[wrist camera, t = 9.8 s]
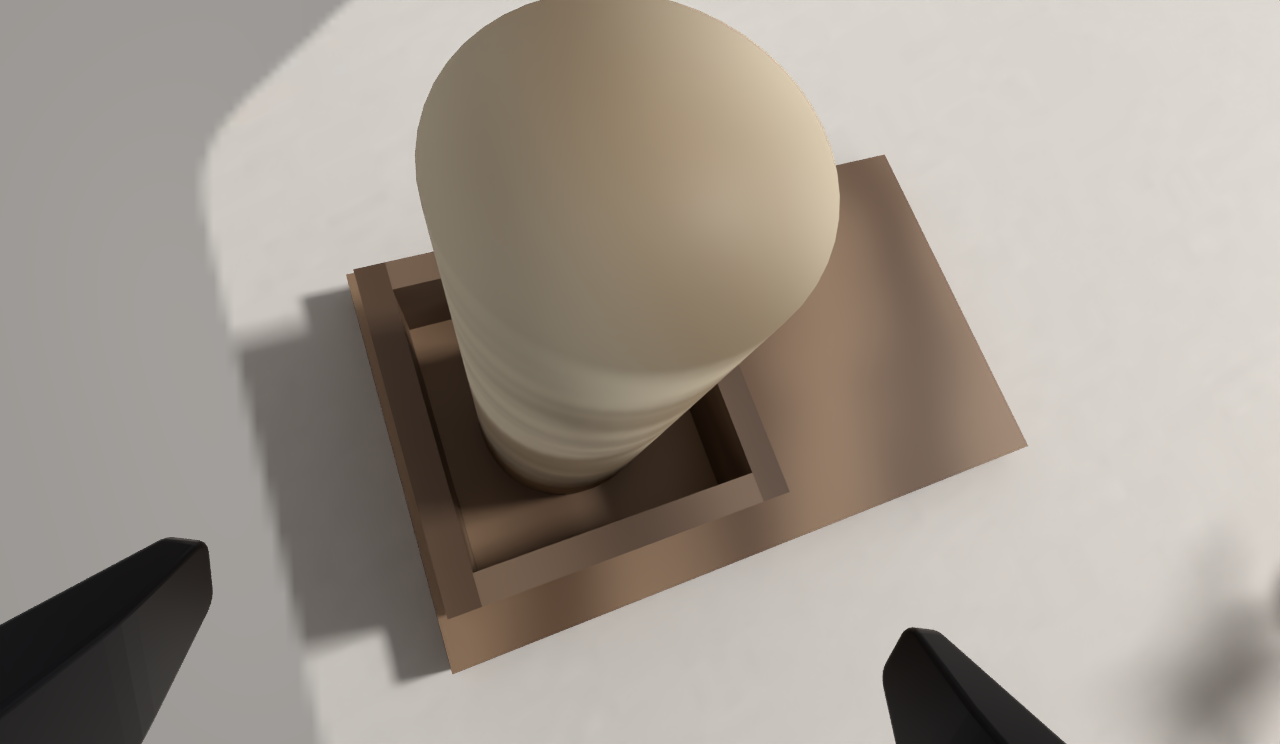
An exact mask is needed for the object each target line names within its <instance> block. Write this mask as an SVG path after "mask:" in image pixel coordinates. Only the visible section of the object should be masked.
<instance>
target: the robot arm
mask: <svg viewBox="0 0 1280 744" xmlns="http://www.w3.org/2000/svg"><path fill="white" fill-rule="evenodd" d="M212 594H213V590H212V579H211V569H210V559H209V551H208V547H207V546H206V544H205V543H204V542H202V541H199V540H191V539H183V538H174V537H169V538H165V539H162V540H159V541H157V542H155V543H153V544H152V545H150V546H148V547H146V548H144V549H143V550H140V551H138V552H137V553H135V554H133V555H131V556H129V557H127V558H125V559H124V560H121V561H120V562H118V563H116V564H114V565H112V566H110V567H108V568H107V569H105V570H103V571H101V572H99V573H97V574H95V575H93V576H91V577H89V578H88V579H86V580H84V581H82V582H80V583H78V584H76V585H75V586H73V587H71V588H69V589H67V590H65V591H63V592H61V593H59V594H57V595H56V596H54V597H52V598H50V599H48V600H46V601H44V602H43V603H41V604H39V605H37V606H35V607H33V608H31V609H29V610H28V611H26V612H24V613H22V614H20V615H18V616H16V617H14V618H12V619H10V620H8V621H7V622H5V623H3V624H1V625H0V744H141V743H142V742H143V740H144V738H145V736H146V734H147V732H148V731H149V729H150V727H151V725H152V723H153V721H154V719H155V717H156V715H157V713H158V711H159V709H160V707H161V705H162V703H163V701H164V699H165V697H166V695H167V693H168V691H169V689H170V687H171V685H172V683H173V681H174V679H175V676H176V675H177V673H178V671H179V669H180V667H181V665H182V663H183V661H184V659H185V657H186V655H187V653H188V650H189V648H190V647H191V644H192V642H193V641H194V638H195V636H196V634H197V632H198V630H199V628H200V626H201V624H202V622H203V620H204V618H205V616H206V614H207V612H208V610H209V607H210V604H211V600H212ZM883 687H884V692H885V697H886V701H887V706H888V710H889V715H890V719H891V724H892V728H893V733H894V738H895V742H896V744H1066V743H1065V742H1064V741H1062V740H1061V739H1060V738H1059V737H1058V736H1057V735H1056V734H1054V733H1053V732H1052V731H1051V730H1050V729H1049V728H1048V727H1047V726H1045V725H1044V724H1043V723H1042V722H1041V721H1040V720H1039V719H1038V718H1036V717H1035V716H1034V715H1033V714H1032V713H1031V712H1030V711H1028V710H1027V709H1026V708H1025V707H1024V706H1023V705H1022V704H1021V703H1019V702H1018V701H1017V700H1016V699H1015V698H1014V697H1013V696H1011V695H1010V694H1009V693H1008V692H1007V691H1006V690H1005V689H1004V688H1002V687H1001V686H1000V685H999V684H998V683H997V682H996V681H995V680H993V679H992V678H991V677H990V676H989V675H988V674H987V673H985V672H984V671H983V670H982V669H981V668H980V667H979V666H978V665H976V664H975V663H974V662H973V661H972V660H971V659H970V658H968V657H967V656H966V655H965V654H964V653H963V652H962V651H961V650H959V649H958V648H957V647H956V646H955V645H954V644H953V643H952V642H950V641H949V640H948V639H947V638H946V637H945V636H944V635H942V634H941V633H940V632H938V631H935V630H930V629H922V628H914V627H912V628H908V629H906V630H905V631H904V632H903V633H902V635H901V637H900V638H899V640H898V642H897V644H896V646H895V647H894V649H893V651H892V653H891V655H890V656H889V658H888V660H887V662H886V664H885V666H884V670H883Z"/></svg>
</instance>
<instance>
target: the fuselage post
mask: <svg viewBox="0 0 1280 744" xmlns="http://www.w3.org/2000/svg"><path fill="white" fill-rule="evenodd" d="M415 163H416V180H417V186H418V190H419V195H420V200H421V204H422V209H423V213H424V216H425V220H426V224H427V228H428V231H429V235H430V239H431V243H432V246H433V250H434V254H435V258H436V261H437V265H438V269H439V273H440V276H441V280H442V284H443V288H444V292H445V295H446V299H447V303H448V307H449V310H450V314H451V318H452V322H453V325H454V329H455V333H456V337H457V340H458V344H459V348H460V352H461V356H462V359H463V363H464V367H465V371H466V374H467V378H468V382H469V386H470V389H471V393H472V397H473V401H474V404H475V408H476V412H477V416H478V419H479V423H480V427H481V431H482V435H483V437H484V440H485V443H486V446H487V447H488V449H489V451H490V453H491V455H492V456H493V458H494V459H495V461H496V462H497V463H498V465H499V466H500V467H501V468H502V469H503V470H504V471H505V472H506V473H507V474H509V475H510V476H511V477H512V478H514V479H515V480H517V481H519V482H520V483H522V484H524V485H526V486H528V487H530V488H533V489H535V490H539V491H543V492H547V493H554V494H570V493H578V492H582V491H586V490H590V489H592V488H594V487H597V486H599V485H601V484H603V483H604V482H606V481H608V480H609V479H611V478H612V477H613V476H615V475H616V474H617V473H618V472H619V471H621V470H622V469H623V468H624V467H625V466H626V465H627V464H628V463H629V462H631V461H632V460H633V459H634V458H635V457H636V456H637V455H638V454H639V453H641V452H642V451H643V450H644V449H645V448H646V447H647V446H648V445H649V444H651V443H652V442H653V441H654V440H655V439H656V438H657V437H658V436H659V435H661V434H662V433H663V432H664V431H665V430H666V429H667V428H668V427H669V426H671V425H672V424H673V423H674V422H675V421H676V420H677V419H678V418H679V417H681V416H682V415H683V414H684V413H685V412H686V411H687V410H688V409H689V408H691V407H692V406H693V405H694V404H695V403H696V402H697V401H698V400H699V399H701V398H702V397H703V396H704V395H705V394H706V393H707V392H708V391H709V390H711V389H712V388H713V387H714V386H715V385H716V384H717V383H718V382H719V381H721V380H722V379H723V378H724V377H725V376H726V375H727V374H728V373H729V372H731V371H732V370H733V369H734V368H735V367H736V366H737V365H738V364H739V363H741V362H742V361H743V360H744V359H745V358H746V357H747V356H748V355H749V354H751V353H752V352H753V351H754V350H755V349H756V348H757V347H758V346H759V345H761V344H762V343H763V342H764V341H765V340H766V339H767V338H768V337H769V336H771V335H772V334H773V333H774V332H775V331H776V330H777V329H778V328H779V327H781V326H782V325H783V324H784V323H785V322H786V321H787V320H788V319H789V318H790V317H791V316H792V315H793V314H794V313H795V312H796V311H797V310H798V309H799V308H800V307H801V306H802V305H803V303H804V302H805V301H806V299H807V298H808V296H809V295H810V294H811V292H812V291H813V290H814V288H815V287H816V285H817V284H818V282H819V280H820V278H821V276H822V274H823V272H824V270H825V268H826V266H827V264H828V261H829V258H830V255H831V252H832V249H833V246H834V243H835V239H836V233H837V228H838V222H839V205H840V193H839V184H838V174H837V169H836V165H835V161H834V157H833V153H832V149H831V146H830V144H829V141H828V138H827V136H826V133H825V131H824V128H823V126H822V124H821V122H820V120H819V118H818V116H817V115H816V113H815V111H814V109H813V107H812V105H811V104H810V102H809V101H808V99H807V98H806V97H805V95H804V94H803V92H802V91H801V89H800V88H799V86H798V85H797V84H796V83H795V82H794V80H793V79H792V78H791V77H790V76H789V75H788V74H787V72H786V71H785V70H784V69H783V68H782V67H781V66H780V65H779V64H778V63H777V62H776V61H775V60H774V59H773V58H772V57H771V56H770V55H768V54H767V53H766V52H765V51H764V50H763V49H762V48H760V47H759V46H758V45H756V44H755V43H754V42H752V41H751V40H750V39H748V38H747V37H746V36H745V35H743V34H741V33H740V32H738V31H737V30H735V29H733V28H732V27H730V26H728V25H727V24H725V23H723V22H722V21H720V20H718V19H715V18H713V17H711V16H709V15H707V14H705V13H703V12H701V11H699V10H696V9H693V8H690V7H688V6H685V5H682V4H679V3H676V2H673V1H669V0H540V1H536V2H533V3H530V4H527V5H524V6H522V7H520V8H518V9H515V10H513V11H511V12H509V13H507V14H504V15H503V16H501V17H499V18H498V19H496V20H495V21H493V22H491V23H490V24H488V25H486V26H485V27H483V28H482V29H481V30H480V31H478V32H477V33H476V34H475V35H474V36H472V37H471V38H470V39H469V40H468V41H466V42H465V43H464V44H463V45H462V46H461V47H460V48H459V50H458V51H457V52H456V53H455V54H454V55H453V56H452V57H451V59H450V60H449V61H448V62H447V63H446V65H445V67H444V68H443V70H442V71H441V73H440V74H439V76H438V77H437V79H436V80H435V82H434V84H433V86H432V88H431V91H430V93H429V95H428V97H427V100H426V102H425V104H424V107H423V111H422V115H421V119H420V122H419V126H418V131H417V141H416V150H415Z"/></svg>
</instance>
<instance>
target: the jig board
mask: <svg viewBox="0 0 1280 744" xmlns="http://www.w3.org/2000/svg"><path fill="white" fill-rule="evenodd" d="M836 169H837V174H838V184H839V193H840V205H839V222H838V228H837V233H836V239H835V243H834V246H833V249H832V252H831V255H830V258H829V261H828V264H827V266H826V268H825V270H824V272H823V274H822V276H821V278H820V280H819V282H818V284H817V285H816V287H815V288H814V290H813V291H812V292H811V294H810V295H809V296H808V298H807V299H806V301H805V302H804V303H803V305H802V306H801V307H800V308H799V309H798V310H797V311H796V312H795V313H794V314H793V315H792V316H791V317H790V318H789V319H788V320H787V321H786V322H785V323H784V324H783V325H782V326H781V327H779V328H778V329H777V330H776V331H775V332H774V333H773V334H772V335H771V336H769V337H768V338H767V339H766V340H765V341H764V342H763V343H762V344H761V345H759V346H758V347H757V348H756V349H755V350H754V351H753V352H752V353H751V354H749V355H748V356H747V357H746V358H745V359H744V360H743V361H742V362H741V363H739V364H738V365H737V366H736V367H735V368H734V369H733V370H732V371H731V372H729V373H728V374H727V375H726V376H725V377H724V378H723V379H722V380H721V381H719V382H718V383H717V384H716V385H715V386H714V387H713V388H712V389H711V390H709V391H708V392H707V393H706V394H705V395H704V396H703V397H702V398H701V399H699V400H698V401H697V402H696V403H695V404H694V405H693V406H692V407H691V408H689V409H688V410H687V411H686V412H685V413H684V414H683V415H682V416H681V417H679V418H678V419H677V420H676V421H675V422H674V423H673V424H672V425H671V426H669V427H668V428H667V429H666V430H665V431H664V432H663V433H662V434H661V435H659V436H658V437H657V438H656V439H655V440H654V441H653V442H652V443H651V444H649V445H648V446H647V447H646V448H645V449H644V450H643V451H642V452H641V453H639V454H638V455H637V456H636V457H635V458H634V459H633V460H632V461H631V462H629V463H628V464H627V465H626V466H625V467H624V468H623V469H622V470H621V471H619V472H618V473H617V474H616V475H615V476H613V477H612V478H611V479H609V480H608V481H606V482H604V483H603V484H601V485H599V486H597V487H594V488H592V489H590V490H586V491H582V492H578V493H570V494H554V493H547V492H543V491H539V490H535V489H533V488H530V487H528V486H526V485H524V484H522V483H520V482H519V481H517V480H515V479H514V478H512V477H511V476H510V475H509V474H507V473H506V472H505V471H504V470H503V469H502V468H501V467H500V466H499V465H498V463H497V462H496V461H495V459H494V458H493V456H492V455H491V453H490V451H489V449H488V447H487V446H486V443H485V440H484V437H483V435H482V431H481V427H480V423H479V419H478V416H477V412H476V408H475V404H474V401H473V397H472V393H471V389H470V386H469V382H468V378H467V374H466V371H465V367H464V363H463V359H462V356H461V352H460V348H459V344H458V340H457V337H456V333H455V329H454V325H453V322H452V318H451V314H450V310H449V307H448V303H447V299H446V295H445V292H444V288H443V284H442V280H441V276H440V273H439V269H438V265H437V261H436V258H435V254H434V252H430V253H426V254H421V255H416V256H412V257H407V258H403V259H398V260H394V261H389V262H385V263H380V264H376V265H371V266H367V267H362V268H358V269H353V270H354V273H352V274H347V275H346V276H347V280H348V284H349V287H350V291H351V295H352V299H353V302H354V306H355V310H356V314H357V317H358V321H359V325H360V329H361V332H362V336H363V340H364V344H365V348H366V351H367V355H368V359H369V363H370V366H371V370H372V374H373V378H374V381H375V385H376V389H377V393H378V396H379V400H380V404H381V408H382V411H383V415H384V419H385V423H386V426H387V430H388V434H389V438H390V442H391V445H392V449H393V453H394V457H395V460H396V464H397V468H398V472H399V475H400V479H401V483H402V487H403V490H404V494H405V498H406V502H407V505H408V509H409V513H410V517H411V520H412V524H413V528H414V532H415V535H416V539H417V543H418V547H419V551H420V554H421V558H422V562H423V566H424V569H425V573H426V577H427V581H428V584H429V588H430V592H431V596H432V599H433V603H434V607H435V611H436V614H437V618H438V622H439V626H440V629H441V633H442V637H443V641H444V645H445V648H446V652H447V656H448V660H449V663H450V667H451V671H452V674H454V673H457V672H460V671H462V670H465V669H467V668H470V667H472V666H475V665H477V664H480V663H482V662H485V661H487V660H490V659H492V658H495V657H497V656H500V655H502V654H505V653H507V652H510V651H512V650H515V649H517V648H520V647H523V646H525V645H528V644H530V643H533V642H535V641H538V640H540V639H543V638H545V637H548V636H550V635H553V634H555V633H558V632H560V631H563V630H565V629H568V628H570V627H573V626H575V625H578V624H580V623H583V622H585V621H588V620H591V619H593V618H596V617H598V616H601V615H603V614H606V613H608V612H611V611H613V610H616V609H618V608H621V607H623V606H626V605H628V604H631V603H633V602H636V601H638V600H641V599H643V598H646V597H648V596H651V595H654V594H656V593H659V592H661V591H664V590H666V589H669V588H671V587H674V586H676V585H679V584H681V583H684V582H686V581H689V580H691V579H694V578H696V577H699V576H701V575H704V574H706V573H709V572H711V571H714V570H716V569H719V568H722V567H724V566H727V565H729V564H732V563H734V562H737V561H739V560H742V559H744V558H747V557H749V556H752V555H754V554H757V553H759V552H762V551H764V550H767V549H769V548H772V547H774V546H777V545H779V544H782V543H785V542H787V541H790V540H792V539H795V538H797V537H800V536H802V535H805V534H807V533H810V532H812V531H815V530H817V529H820V528H822V527H825V526H827V525H830V524H832V523H835V522H837V521H840V520H842V519H845V518H847V517H850V516H853V515H855V514H858V513H860V512H863V511H865V510H868V509H870V508H873V507H875V506H878V505H880V504H883V503H885V502H888V501H890V500H893V499H895V498H898V497H900V496H903V495H905V494H908V493H910V492H913V491H916V490H918V489H921V488H923V487H926V486H928V485H931V484H933V483H936V482H938V481H941V480H943V479H946V478H948V477H951V476H953V475H956V474H958V473H961V472H963V471H966V470H968V469H971V468H973V467H976V466H978V465H981V464H984V463H986V462H989V461H991V460H994V459H996V458H999V457H1001V456H1004V455H1006V454H1009V453H1011V452H1014V451H1016V450H1019V449H1021V448H1024V447H1026V446H1028V445H1027V443H1026V441H1025V439H1024V437H1023V435H1022V433H1021V431H1020V429H1019V426H1018V424H1017V422H1016V420H1015V418H1014V416H1013V414H1012V412H1011V410H1010V408H1009V406H1008V404H1007V402H1006V400H1005V398H1004V396H1003V394H1002V392H1001V390H1000V388H999V386H998V384H997V382H996V380H995V378H994V376H993V374H992V372H991V370H990V368H989V366H988V364H987V362H986V360H985V358H984V355H983V353H982V351H981V349H980V347H979V345H978V343H977V341H976V339H975V337H974V335H973V333H972V331H971V329H970V327H969V325H968V323H967V321H966V319H965V317H964V315H963V313H962V311H961V309H960V307H959V305H958V303H957V301H956V299H955V297H954V295H953V293H952V291H951V289H950V286H949V284H948V282H947V280H946V278H945V276H944V274H943V272H942V270H941V268H940V266H939V264H938V262H937V260H936V258H935V256H934V254H933V252H932V250H931V248H930V246H929V244H928V242H927V240H926V238H925V236H924V234H923V232H922V230H921V228H920V226H919V224H918V222H917V220H916V218H915V215H914V213H913V211H912V209H911V207H910V205H909V203H908V201H907V199H906V197H905V195H904V193H903V191H902V189H901V187H900V185H899V183H898V181H897V179H896V177H895V175H894V173H893V171H892V169H891V167H890V165H889V163H888V161H887V159H886V157H885V155H881V156H877V157H872V158H868V159H863V160H859V161H854V162H850V163H845V164H841V165H836Z"/></svg>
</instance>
